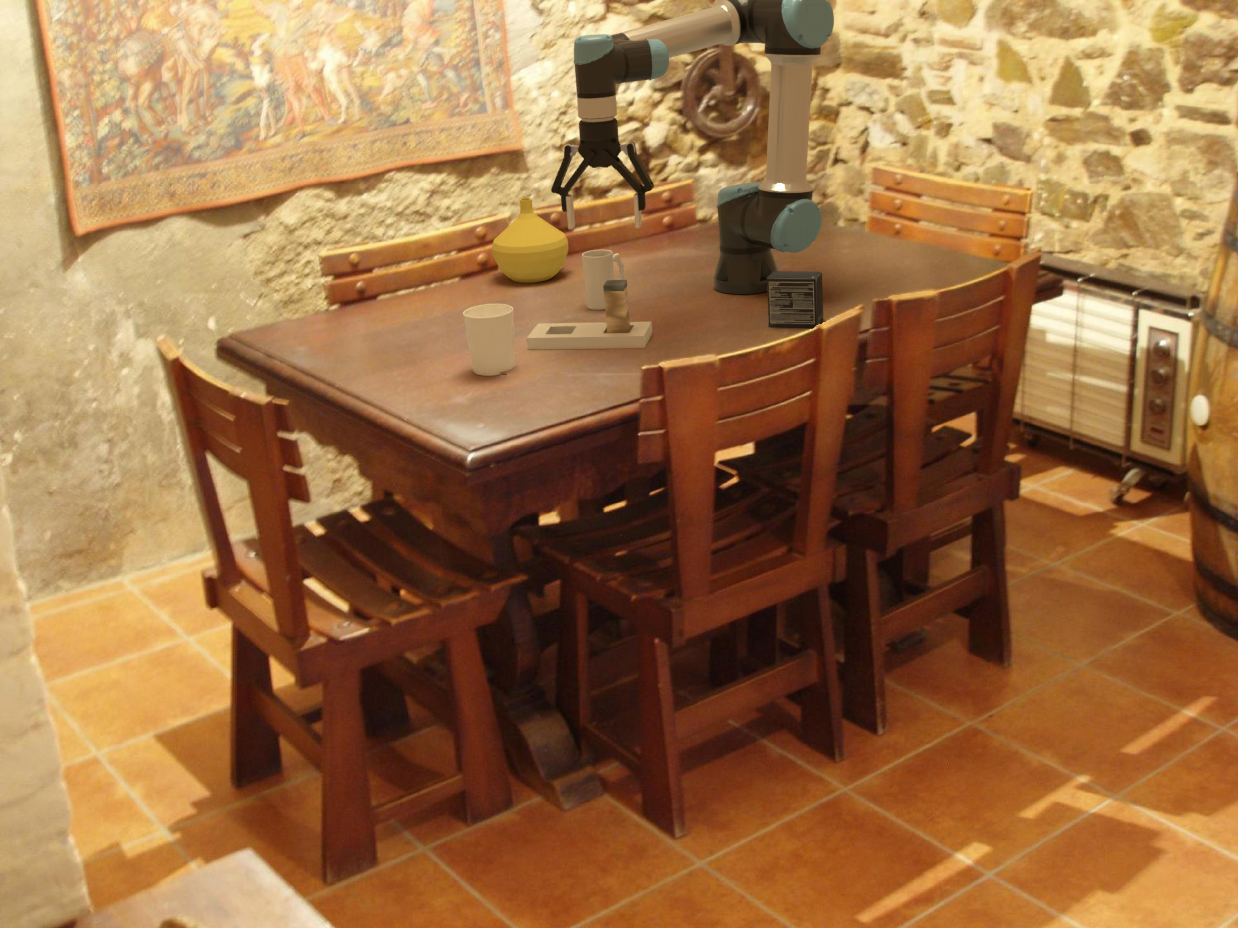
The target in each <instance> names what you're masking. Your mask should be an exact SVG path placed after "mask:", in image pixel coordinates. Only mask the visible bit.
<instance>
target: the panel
mask: <svg viewBox="0 0 1238 928" xmlns="http://www.w3.org/2000/svg"><path fill="white" fill-rule="evenodd" d="M652 323H653V321H630V333H607V325H606V321H605V322H603V321H602V322H599V321H598V322H562V323H561V322H557V323H555V322H554V323H553V322H552V323H549V322H548V323H537V325H536V326H535V327H534V328H533V329H532V331H531V332H530V334H528V336H527V337H526V344H527V345H526V346H527V350H530V351H531V350H532V351H533V350H579V349H580V350H581V349H582V350H585V349H586V350H588V349H591V350H593V349H595V350H596V349H597V350H599V349H645V348H646V346H647V344H648V342H649V340H650V339H651V337H652V335H653V325H652Z"/></svg>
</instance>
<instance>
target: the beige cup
mask: <svg viewBox="0 0 1238 928" xmlns="http://www.w3.org/2000/svg"><path fill="white" fill-rule="evenodd" d="M462 317H463V321H464V327H465V332H466V338H467V339H466V340H467V344H468V349H469V355H470V360H471V367H472V371H473V373H474V374H476V375H477V376H484V377H494V376H502V375H503V373H504V372H507V371H510V370H512V369H514V368H515V367H516V350H515V349H516V347H515V327H514V326H515V325H514V323H515V322H514V307H513V306H512V305H509V304H507V303H506V304H505V303H484V304H480V305H479V304H478V305H475V306H471V307H469V308H466V309H465V310H463V312H462Z"/></svg>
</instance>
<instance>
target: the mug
mask: <svg viewBox="0 0 1238 928" xmlns="http://www.w3.org/2000/svg"><path fill="white" fill-rule="evenodd" d="M613 253H614V252H613V250H610V249H593V250H592V249H591V250H587V251H584V252H583V253H581V260H582V269H583V279H584V289H585V298H586V306H587V308H588V309H589V310H594V311H595V310H596V311H598V310H600V311H601V310H605V299H604V290H603V285H604V284H605V282H606V281H607V280H615V271H614V262H616V264H617V266H618V277H617V279H616V280H624V276H625V275H624V274H625V269H624V268H625V267H624V263H623V261H622V259H621V257H620V254H619V253H617V252H616V253H614V254H613Z"/></svg>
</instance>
